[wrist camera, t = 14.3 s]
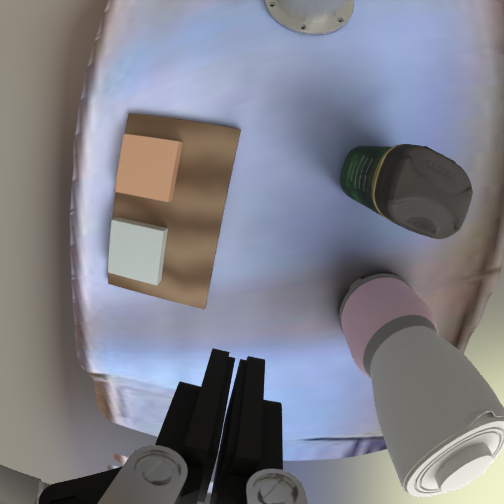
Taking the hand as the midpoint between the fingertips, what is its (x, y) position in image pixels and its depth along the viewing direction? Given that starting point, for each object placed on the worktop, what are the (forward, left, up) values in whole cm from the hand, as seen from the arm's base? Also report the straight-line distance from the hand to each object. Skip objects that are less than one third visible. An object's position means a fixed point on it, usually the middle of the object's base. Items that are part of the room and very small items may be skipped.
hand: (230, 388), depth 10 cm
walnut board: (+3, -13, -35) cm, 38 cm away
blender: (+12, +21, -35) cm, 43 cm away
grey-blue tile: (+9, -12, -33) cm, 36 cm away
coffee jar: (-8, +14, -35) cm, 39 cm away
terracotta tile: (-3, -12, -33) cm, 35 cm away
